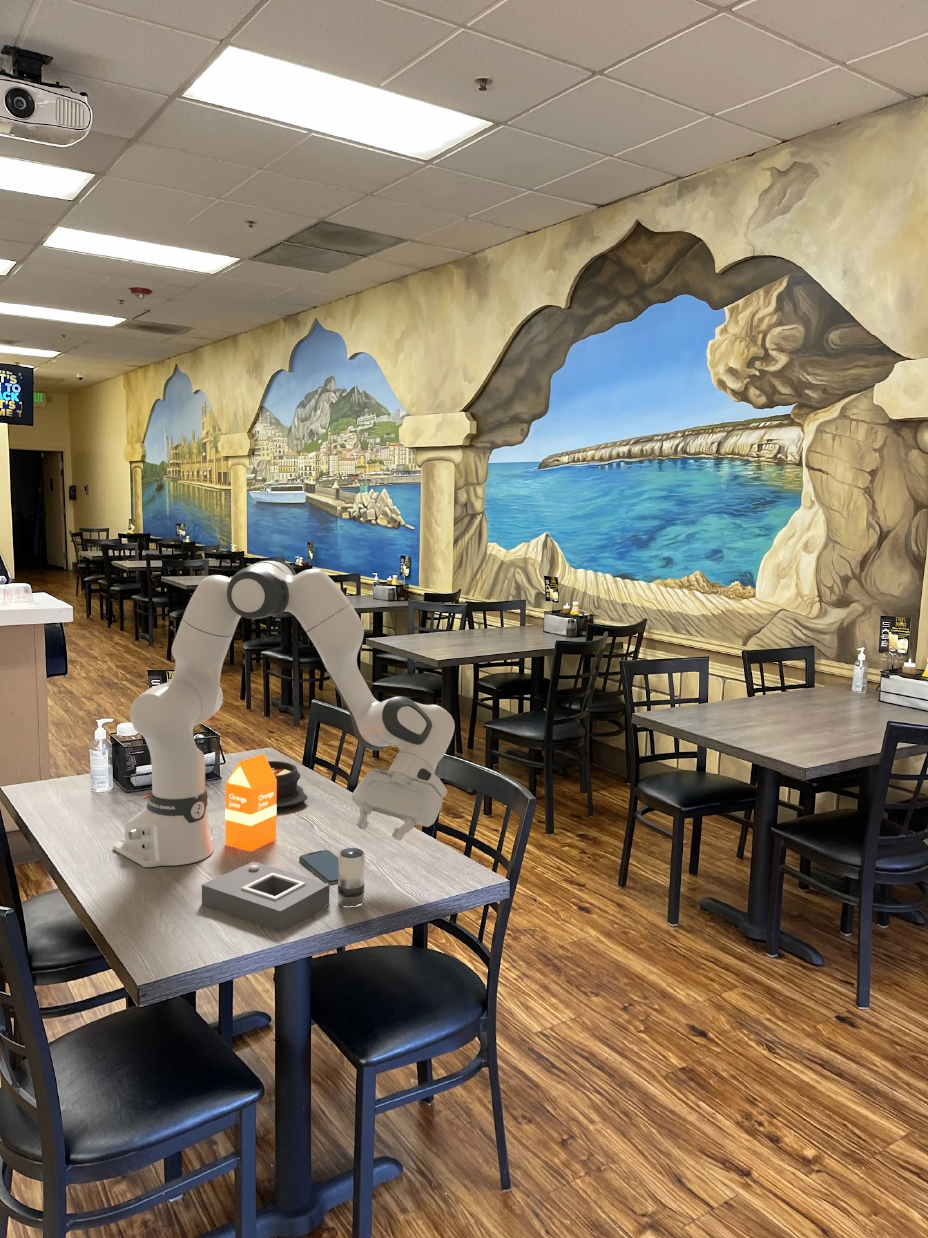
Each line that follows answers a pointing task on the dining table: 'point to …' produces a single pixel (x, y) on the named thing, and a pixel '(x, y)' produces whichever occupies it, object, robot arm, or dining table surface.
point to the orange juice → (251, 805)
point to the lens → (351, 877)
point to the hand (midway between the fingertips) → (378, 833)
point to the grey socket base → (265, 895)
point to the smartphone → (322, 865)
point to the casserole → (287, 784)
